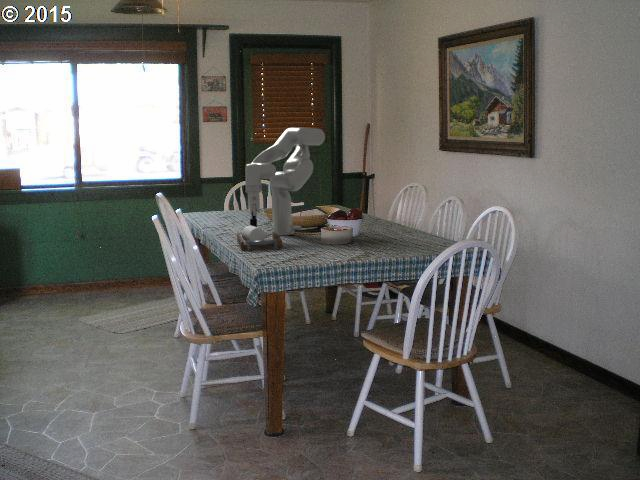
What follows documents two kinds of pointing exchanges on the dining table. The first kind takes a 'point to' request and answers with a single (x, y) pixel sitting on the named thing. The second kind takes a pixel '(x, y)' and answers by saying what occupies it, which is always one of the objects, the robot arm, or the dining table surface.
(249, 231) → the mug
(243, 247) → the frame
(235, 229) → the dining table surface
